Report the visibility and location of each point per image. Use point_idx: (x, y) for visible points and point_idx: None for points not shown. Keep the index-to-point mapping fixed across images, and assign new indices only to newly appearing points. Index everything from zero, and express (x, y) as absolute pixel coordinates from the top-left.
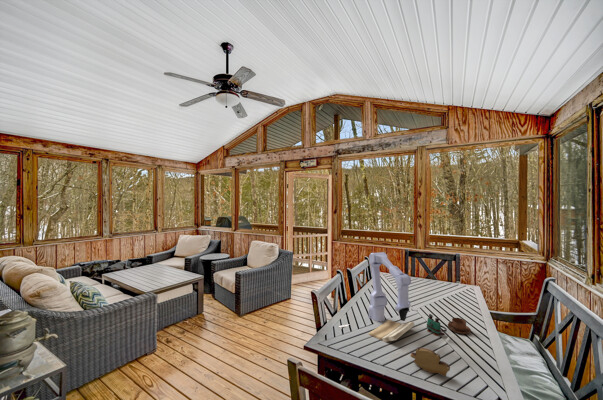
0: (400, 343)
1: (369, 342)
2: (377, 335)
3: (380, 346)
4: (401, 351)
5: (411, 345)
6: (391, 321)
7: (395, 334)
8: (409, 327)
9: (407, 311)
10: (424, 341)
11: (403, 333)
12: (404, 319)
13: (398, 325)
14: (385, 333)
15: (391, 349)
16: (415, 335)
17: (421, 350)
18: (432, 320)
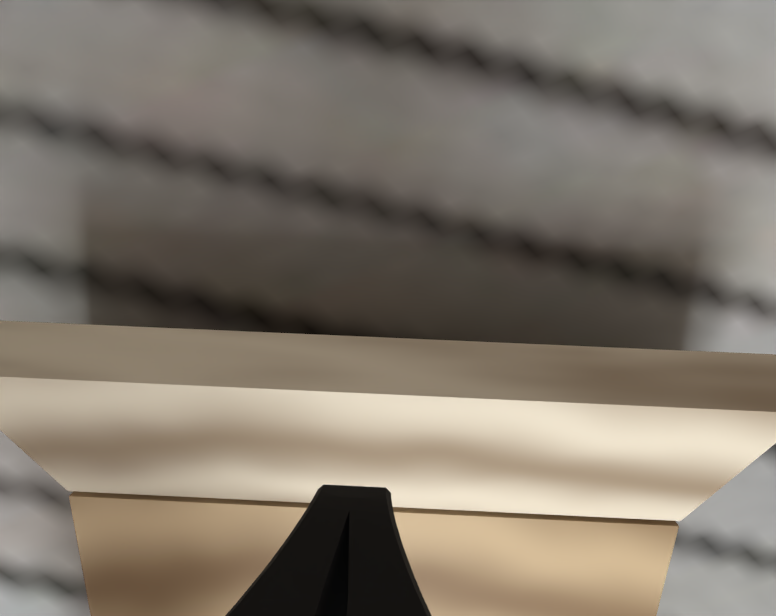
0: (528, 311)
1: (752, 578)
2: (636, 587)
3: (769, 459)
4: (734, 217)
5: (475, 174)
6: (117, 612)
7: (705, 417)
8: (183, 347)
9: None
10: (209, 64)
11: (461, 345)
12: (390, 516)
13: (145, 509)
14: (511, 541)
15: (761, 336)
16: (147, 241)
17: None
18: None
